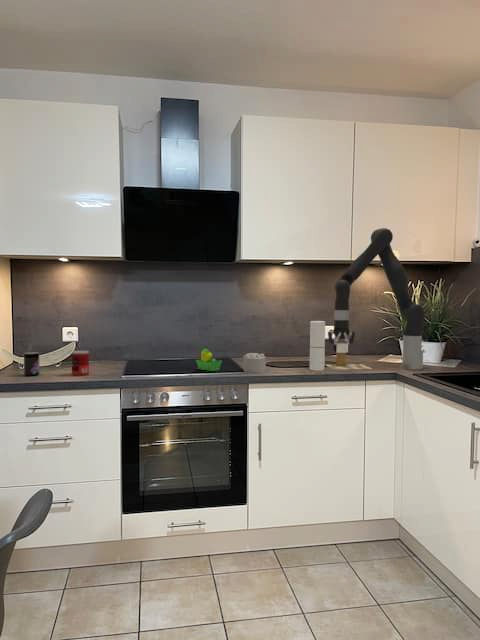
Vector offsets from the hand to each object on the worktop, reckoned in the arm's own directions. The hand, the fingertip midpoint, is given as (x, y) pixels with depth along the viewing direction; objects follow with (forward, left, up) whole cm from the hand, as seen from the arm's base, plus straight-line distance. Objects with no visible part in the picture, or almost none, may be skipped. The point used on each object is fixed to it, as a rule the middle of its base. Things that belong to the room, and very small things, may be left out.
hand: (340, 351), depth 249 cm
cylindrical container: (+15, +10, -9) cm, 20 cm away
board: (-3, +3, -9) cm, 10 cm away
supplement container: (+150, +10, -9) cm, 151 cm away
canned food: (+128, +10, -9) cm, 129 cm away
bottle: (0, 0, -7) cm, 7 cm away
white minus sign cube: (0, 0, 0) cm, 0 cm away
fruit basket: (+68, +2, -9) cm, 69 cm away
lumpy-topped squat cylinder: (+45, +4, -9) cm, 46 cm away
